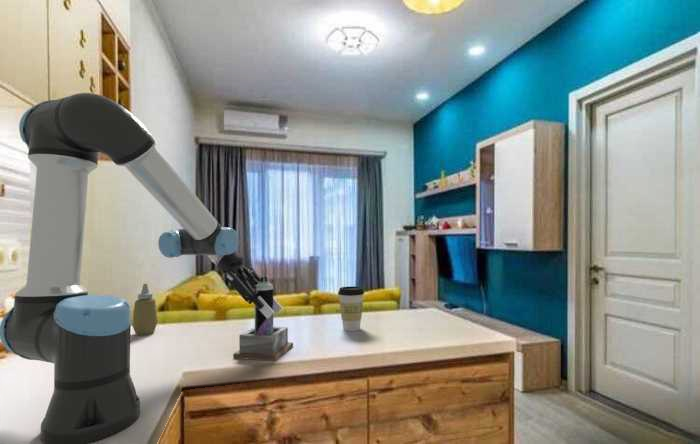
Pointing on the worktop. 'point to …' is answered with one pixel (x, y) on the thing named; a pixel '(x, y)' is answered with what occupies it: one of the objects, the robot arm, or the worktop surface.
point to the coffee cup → (351, 307)
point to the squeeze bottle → (144, 313)
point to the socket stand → (263, 344)
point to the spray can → (261, 322)
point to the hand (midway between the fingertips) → (275, 313)
